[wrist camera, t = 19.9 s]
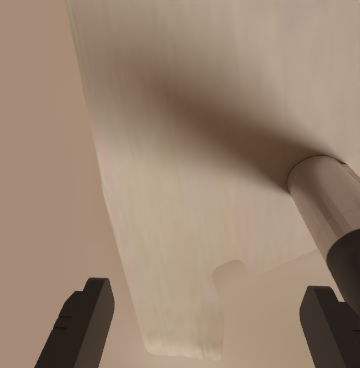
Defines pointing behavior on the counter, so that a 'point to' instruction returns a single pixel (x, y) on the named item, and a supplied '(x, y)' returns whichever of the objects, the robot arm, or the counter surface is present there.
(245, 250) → the counter surface
